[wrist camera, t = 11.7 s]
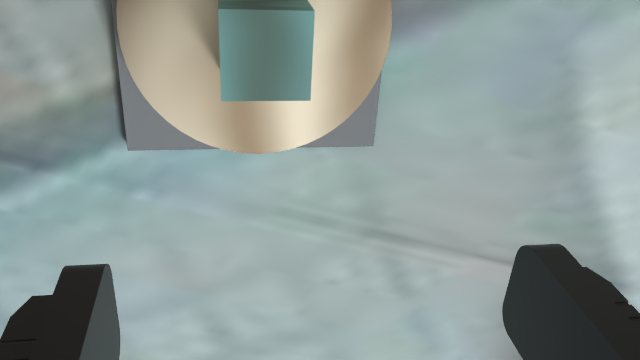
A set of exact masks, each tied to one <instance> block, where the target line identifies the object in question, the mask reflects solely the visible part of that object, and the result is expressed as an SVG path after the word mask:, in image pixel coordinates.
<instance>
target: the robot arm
mask: <svg viewBox="0 0 640 360" xmlns="http://www.w3.org/2000/svg"><path fill="white" fill-rule="evenodd" d="M503 322H504V326H505V329H506V331H507V334H508V336H509V337H510V339H511V340H512V342H513V344H514V345H515V347H516V349H517V350H518V352H519V353H520V355H521V357H522V358H523V360H640V313H639V312H638V311H637V310H636V309H635V308H634V307H633V306H632V305H629V304H628V300H627V299H626V298H625V297H624V296H623V295H622V294H621V293H620V292H619V291H618V290H617V289H616V288H615V287H614V285H613V284H612V283H611V282H609V281H608V280H606V279H604V278H603V277H601V276H600V275H598V274H597V273H595V272H593V271H592V270H590V269H589V268H587V267H582V266H581V265H580V264H579V263H578V261H577V260H576V259H575V258H574V257H573V256H572V255H571V254H570V253H569V251H568V250H567V249H566V248H565V247H564V246H562V245H560V244H545V245H524V246H522V247H520V249H519V250H518V252H517V254H516V257H515V261H514V265H513V269H512V272H511V276H510V280H509V284H508V287H507V291H506V295H505V299H504V302H503ZM119 355H120V328H119V320H118V314H117V307H116V300H115V293H114V286H113V279H112V273H111V268H110V266H109V264H96V265H74V266H65V267H64V268H63V269H62V272H61V274H60V277H59V280H58V282H57V285H56V288H55V290H54V293H53V295H44V296H32V297H31V298H30V299H29V300H28V301H27V302H26V303H25V304H24V305H23V306H21V307H20V308H19V309H18V310H17V311H16V312H15V313H14V314H13V315H12V316H11V317H10V319H9V321H8V323H7V326H6V328H5V330H4V332H3V334H2V337H1V339H0V360H119Z"/></svg>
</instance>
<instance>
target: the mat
mask: <svg viewBox="0 0 640 360" xmlns="http://www.w3.org/2000/svg"><path fill="white" fill-rule="evenodd" d="M111 7H112V16H113V25H114V34H115V43H116V51H117V60H118V69H119V78H120V87H121V95H122V104H123V113H124V122H125V131H126V139H127V148H128V151H130V150H186V149H220V148H216V147H213V146H210V145H207V144H205V143H202V142H200V141H198V140H195V139H193V138H192V137H190V136H188V135H186V134H185V133H183V132H181V131H180V130H178V129H177V128H176V127H174V126H173V125H171V124H170V123H169V122H167V121H166V120H165V119H164V118H163V117H162V116H161V115H160V114H159V113H158V112H157V111H156V110H155V109H154V108H153V107H152V106H151V105H150V103H149V102H148V101H147V100H146V99H145V97H144V96H143V95H142V93H141V92H140V90H139V88H138V87H137V85H136V84H135V82H134V80H133V78H132V76H131V74H130V72H129V70H128V68H127V66H126V63H125V60H124V57H123V53H122V50H121V47H120V42H119V36H118V31H117V14H116V8H117V0H111ZM381 71H382V70H381ZM380 80H381V72H380V74H379V76H378V79H377V81H376V83H375V84H374V86H373V88H372V89H371V91H370V93H369V94H368V96H367V97H366V98H365V100H364V101H363V102H362V103H361V105H360V106H359V107H358V108H357V109H356V110H355V111H354V112H353V113H352V114H351V115H350V116H349V117H348V118H347V119H346V120H345V121H344V122H343V123H341V124H340V125H339V126H337V127H336V128H335V129H334V130H332V131H330V132H329V133H327V134H325V135H324V136H322V137H321V138H318V139H316V140H314V141H312V142H310V143H308V144H305V145H302V146H299V147H355V146H373V144H374V135H375V126H376V117H377V108H378V99H379V90H380ZM296 148H298V147H296Z"/></svg>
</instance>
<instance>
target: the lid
mask: <svg viewBox="0 0 640 360" xmlns="http://www.w3.org/2000/svg"><path fill="white" fill-rule="evenodd" d="M116 14H117V31H118V36H119V42H120V47H121V50H122V53H123V57H124V60H125V63H126V66H127V68H128V70H129V72H130V74H131V76H132V78H133V80H134V82H135V84H136V85H137V87H138V88H139V90H140V92H141V93H142V95H143V96H144V97H145V99H146V100H147V101H148V102H149V103H150V105H151V106H152V107H153V108H154V109H155V110H156V111H157V112H158V113H159V114H160V115H161V116H162V117H163V118H164V119H165V120H166V121H167V122H169V123H170V124H171V125H173V126H174V127H176V128H177V129H178V130H180V131H181V132H183V133H185V134H186V135H188V136H190V137H192V138H193V139H195V140H198V141H200V142H202V143H205V144H207V145H210V146H213V147H216V148H220V149H223V150H227V151H233V152H240V153H256V154H261V153H273V152H279V151H284V150H289V149H293V148H296V147H299V146H302V145H305V144H308V143H310V142H312V141H314V140H316V139H318V138H321V137H322V136H324V135H325V134H327V133H329V132H330V131H332V130H334V129H335V128H336V127H337V126H339V125H340V124H341V123H343V122H344V121H345V120H346V119H347V118H348V117H349V116H350V115H351V114H352V113H353V112H354V111H355V110H356V109H357V108H358V107H359V106H360V105H361V103H362V102H363V101H364V100H365V98H366V97H367V96H368V94H369V93H370V91H371V89H372V88H373V86H374V84H375V83H376V81H377V79H378V76H379V74H380V72H381V70H382V68H383V65H384V62H385V59H386V55H387V52H388V48H389V43H390V37H391V28H392V7H391V0H117V8H116Z"/></svg>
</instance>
